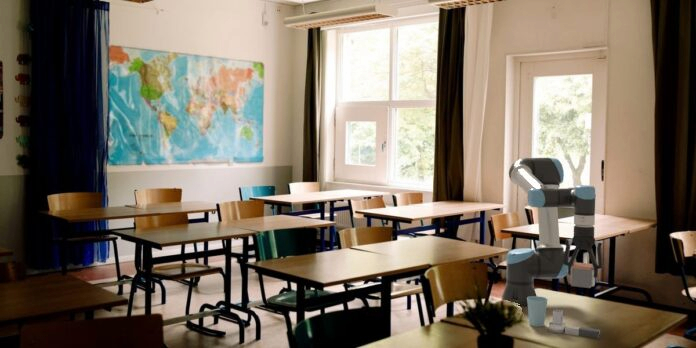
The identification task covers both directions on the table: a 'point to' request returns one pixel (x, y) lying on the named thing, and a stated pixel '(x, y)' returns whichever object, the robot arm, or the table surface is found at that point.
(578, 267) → the red-topped grey block
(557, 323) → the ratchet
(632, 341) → the table surface
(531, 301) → the cup
